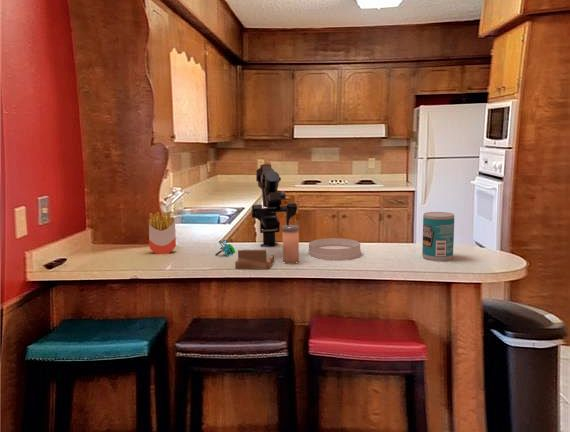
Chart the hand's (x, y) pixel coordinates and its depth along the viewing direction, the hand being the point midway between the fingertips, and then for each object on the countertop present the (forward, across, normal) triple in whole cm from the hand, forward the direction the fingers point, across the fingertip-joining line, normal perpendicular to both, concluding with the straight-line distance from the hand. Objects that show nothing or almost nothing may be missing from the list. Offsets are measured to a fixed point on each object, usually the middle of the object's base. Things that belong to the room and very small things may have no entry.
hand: (276, 226), depth 213 cm
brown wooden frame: (+15, -10, +4) cm, 18 cm away
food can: (+20, +64, -1) cm, 67 cm away
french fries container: (-7, -47, +27) cm, 55 cm away
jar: (+14, +4, +5) cm, 15 cm away
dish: (+9, +25, +11) cm, 29 cm away
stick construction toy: (0, -21, +20) cm, 28 cm away
